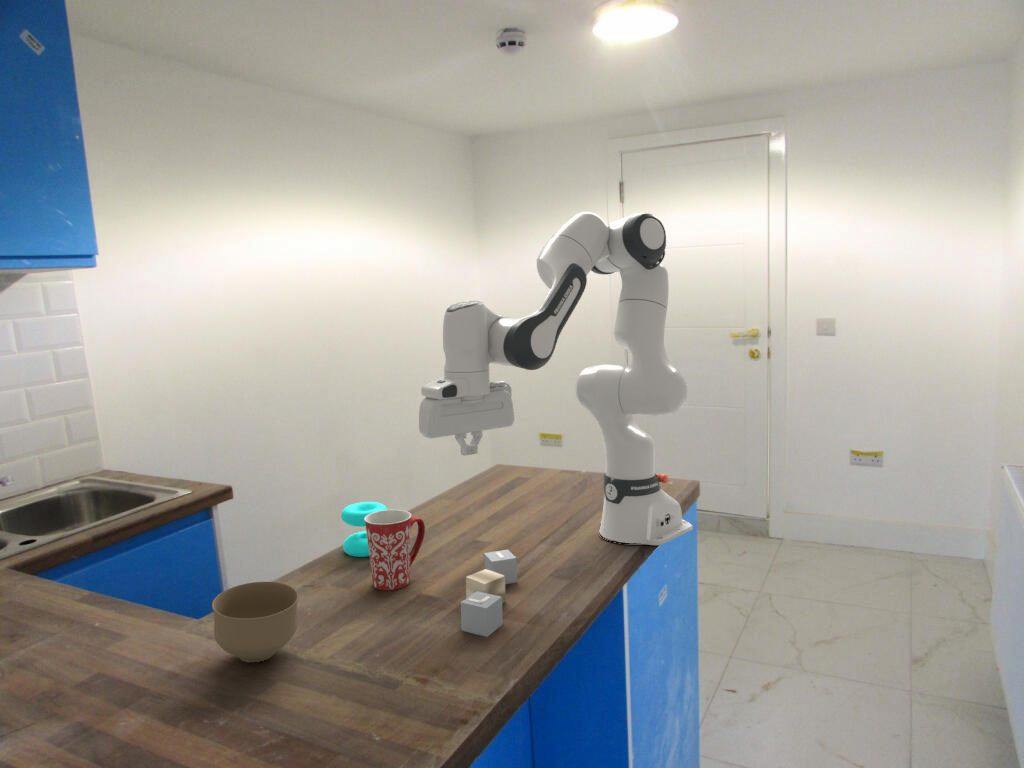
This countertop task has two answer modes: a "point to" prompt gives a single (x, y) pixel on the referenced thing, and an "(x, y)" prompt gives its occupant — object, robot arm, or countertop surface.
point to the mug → (392, 547)
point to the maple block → (486, 583)
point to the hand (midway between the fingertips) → (469, 454)
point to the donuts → (355, 517)
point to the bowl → (255, 619)
